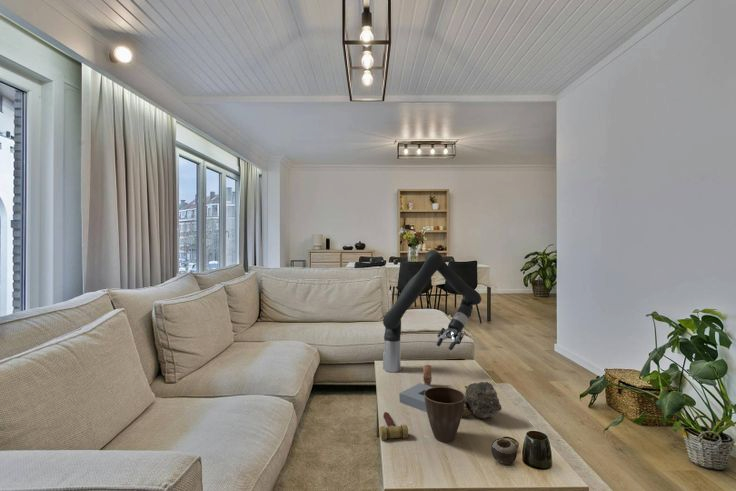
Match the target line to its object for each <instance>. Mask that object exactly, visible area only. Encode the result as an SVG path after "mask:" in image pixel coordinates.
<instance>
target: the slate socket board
mask: <svg viewBox="0 0 736 491" xmlns="http://www.w3.org/2000/svg"><path fill="white" fill-rule="evenodd" d="M430 388H433V386H432V385H431V386H428V385H424V383H421V382H419V383H417V384H415V385H413V386H412V387H411V386H410V387H409V388H406V389H405V390H403V391H401V392H399V402H400V403H402V404H404V405H407V406H409V407H412V408H415V409H417V410H420V411H423V412H424V413H427V410H426V404H425V397H424V392H425V391H426V390H427V389H430Z"/></svg>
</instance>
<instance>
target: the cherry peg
mask: <svg viewBox="0 0 736 491" xmlns="http://www.w3.org/2000/svg"><path fill="white" fill-rule="evenodd" d="M422 367H423V371H422V373H423V376H422V377H423V384H424V385H428V386H431V387H432V385H431V384H432V383H431V382H432V380H433V379H432V378H433V377H432V365H430V364H424V365H423V366H422Z"/></svg>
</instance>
